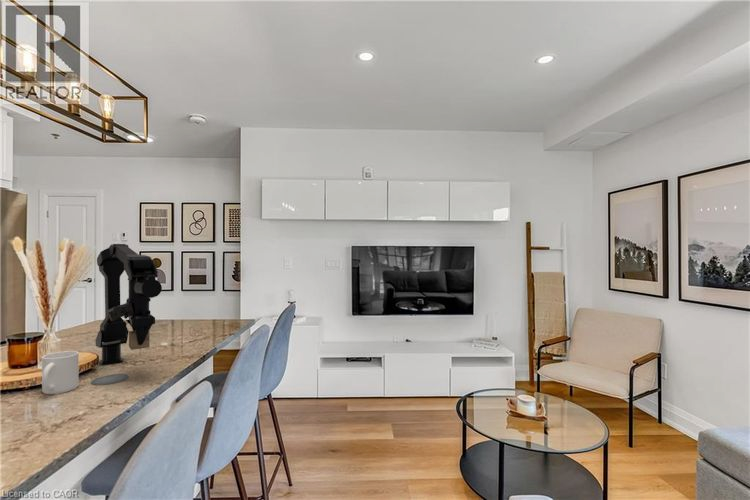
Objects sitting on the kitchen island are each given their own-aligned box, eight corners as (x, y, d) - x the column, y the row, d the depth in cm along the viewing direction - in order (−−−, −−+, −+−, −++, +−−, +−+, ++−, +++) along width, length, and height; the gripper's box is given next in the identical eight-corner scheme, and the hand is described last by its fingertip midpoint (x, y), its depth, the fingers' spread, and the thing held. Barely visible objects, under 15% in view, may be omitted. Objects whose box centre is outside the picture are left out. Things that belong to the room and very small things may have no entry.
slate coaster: (89, 378, 122) (89, 378, 122) (127, 372, 128) (127, 371, 128) (91, 387, 114) (91, 387, 114) (131, 380, 120) (131, 379, 120)
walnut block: (128, 346, 125) (128, 331, 125) (146, 344, 128) (146, 329, 128) (131, 349, 121) (131, 334, 121) (149, 347, 124) (149, 331, 124)
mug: (59, 399, 105) (59, 361, 105) (25, 401, 104) (25, 363, 104) (84, 383, 117) (84, 350, 117) (53, 385, 116) (53, 351, 116)
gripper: (105, 294, 126) (105, 341, 126) (112, 300, 112) (112, 353, 112) (144, 291, 133) (144, 336, 133) (155, 297, 119) (155, 347, 119)
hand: (138, 343), depth 124 cm, fingers closed on walnut block, 5 cm apart
